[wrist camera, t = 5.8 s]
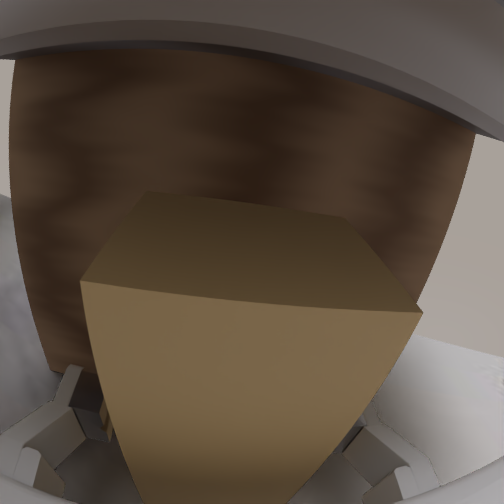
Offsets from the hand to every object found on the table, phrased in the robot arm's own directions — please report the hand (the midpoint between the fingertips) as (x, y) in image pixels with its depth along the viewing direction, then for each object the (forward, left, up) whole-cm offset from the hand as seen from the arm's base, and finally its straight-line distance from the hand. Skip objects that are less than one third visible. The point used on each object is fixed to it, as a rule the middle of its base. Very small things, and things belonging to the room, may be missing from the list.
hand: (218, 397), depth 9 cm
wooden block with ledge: (0, +4, -7) cm, 8 cm away
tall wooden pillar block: (0, -1, -7) cm, 7 cm away
